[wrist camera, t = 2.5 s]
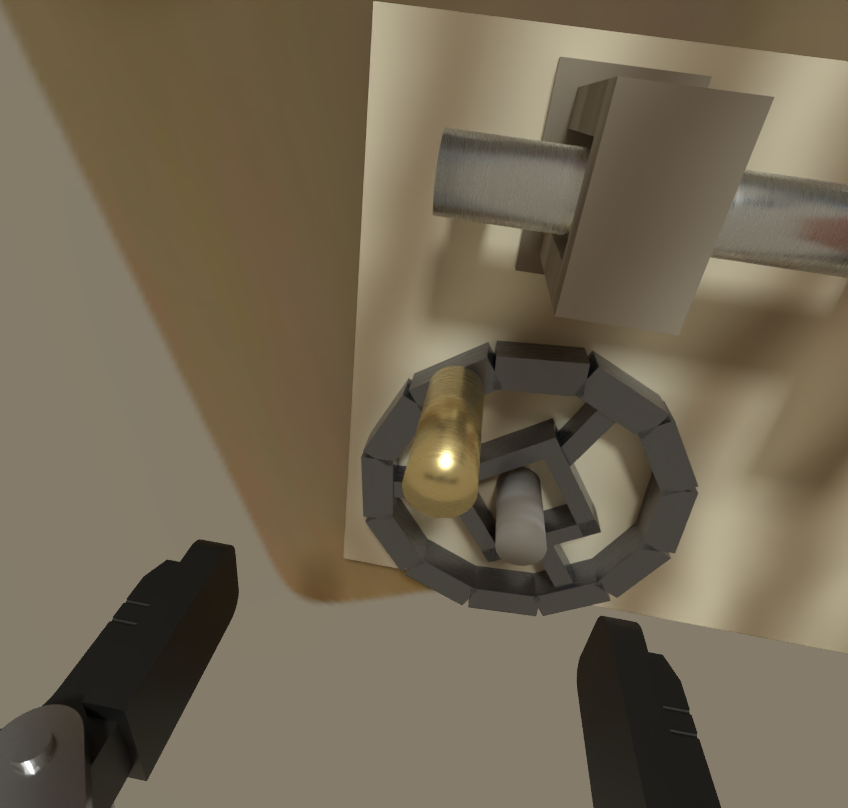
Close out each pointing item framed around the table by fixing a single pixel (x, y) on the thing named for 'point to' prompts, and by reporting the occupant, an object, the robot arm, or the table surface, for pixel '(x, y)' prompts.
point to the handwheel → (472, 461)
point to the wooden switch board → (621, 300)
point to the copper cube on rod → (562, 179)
